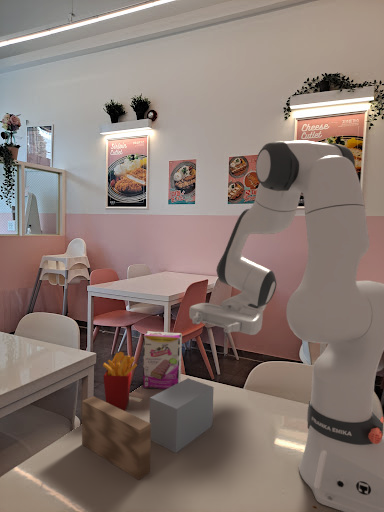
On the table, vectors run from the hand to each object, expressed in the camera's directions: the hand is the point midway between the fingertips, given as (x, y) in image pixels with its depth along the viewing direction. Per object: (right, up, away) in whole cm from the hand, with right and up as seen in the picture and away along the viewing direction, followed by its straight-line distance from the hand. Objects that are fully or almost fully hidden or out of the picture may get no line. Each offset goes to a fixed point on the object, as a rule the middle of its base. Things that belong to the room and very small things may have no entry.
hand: (209, 325), depth 93 cm
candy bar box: (-14, -22, +18) cm, 32 cm away
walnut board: (-21, -25, -17) cm, 36 cm away
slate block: (-7, -24, -7) cm, 26 cm away
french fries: (-24, -23, +5) cm, 33 cm away
